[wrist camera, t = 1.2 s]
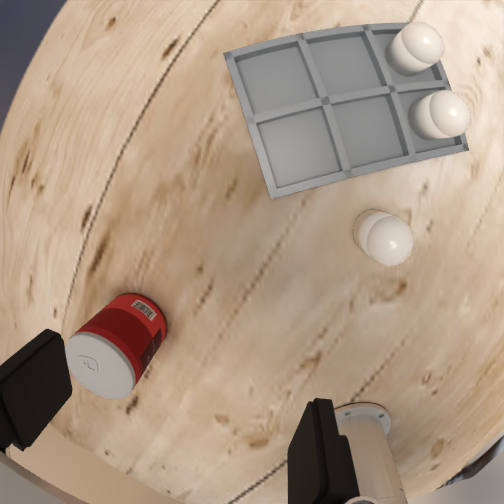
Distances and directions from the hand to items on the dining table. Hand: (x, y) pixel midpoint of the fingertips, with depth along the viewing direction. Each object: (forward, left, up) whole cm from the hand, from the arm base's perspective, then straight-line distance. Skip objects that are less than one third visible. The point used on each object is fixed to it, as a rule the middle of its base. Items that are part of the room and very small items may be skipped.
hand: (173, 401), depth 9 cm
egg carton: (+12, -16, -23) cm, 30 cm away
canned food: (-5, +15, -23) cm, 28 cm away
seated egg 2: (+8, -23, -23) cm, 33 cm away
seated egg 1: (+16, -23, -23) cm, 36 cm away
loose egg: (-2, -14, -23) cm, 27 cm away
